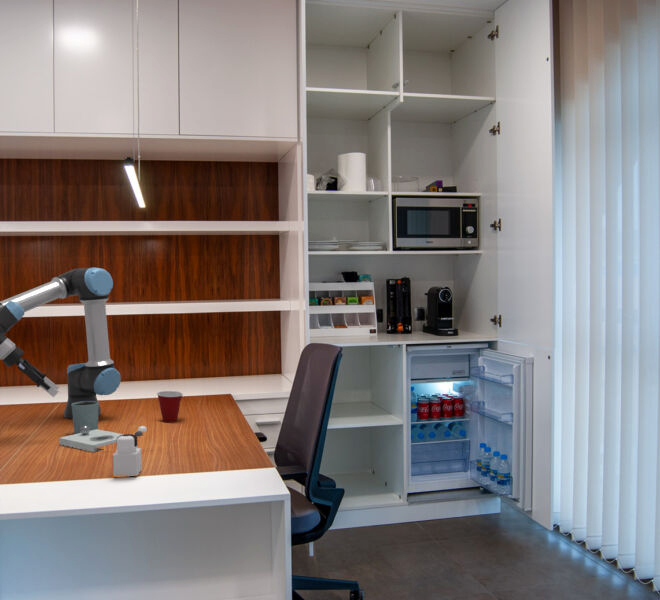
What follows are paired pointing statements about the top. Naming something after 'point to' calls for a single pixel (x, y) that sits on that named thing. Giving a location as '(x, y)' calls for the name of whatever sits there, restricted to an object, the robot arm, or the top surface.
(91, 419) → the grey cup
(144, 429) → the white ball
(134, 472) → the medicine bottle
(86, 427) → the steel ball
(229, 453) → the top surface
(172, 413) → the plastic cup
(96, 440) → the board
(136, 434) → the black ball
